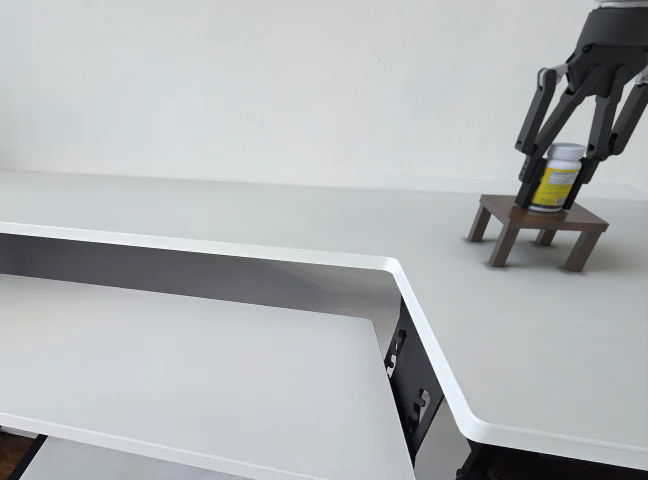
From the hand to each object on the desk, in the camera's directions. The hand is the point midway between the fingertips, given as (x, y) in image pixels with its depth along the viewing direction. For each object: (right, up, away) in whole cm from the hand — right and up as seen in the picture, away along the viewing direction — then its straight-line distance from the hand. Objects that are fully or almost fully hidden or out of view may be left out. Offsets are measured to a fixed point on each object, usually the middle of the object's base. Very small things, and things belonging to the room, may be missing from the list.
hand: (541, 205), depth 71 cm
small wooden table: (0, -6, +4) cm, 7 cm away
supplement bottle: (0, 0, 0) cm, 1 cm away
